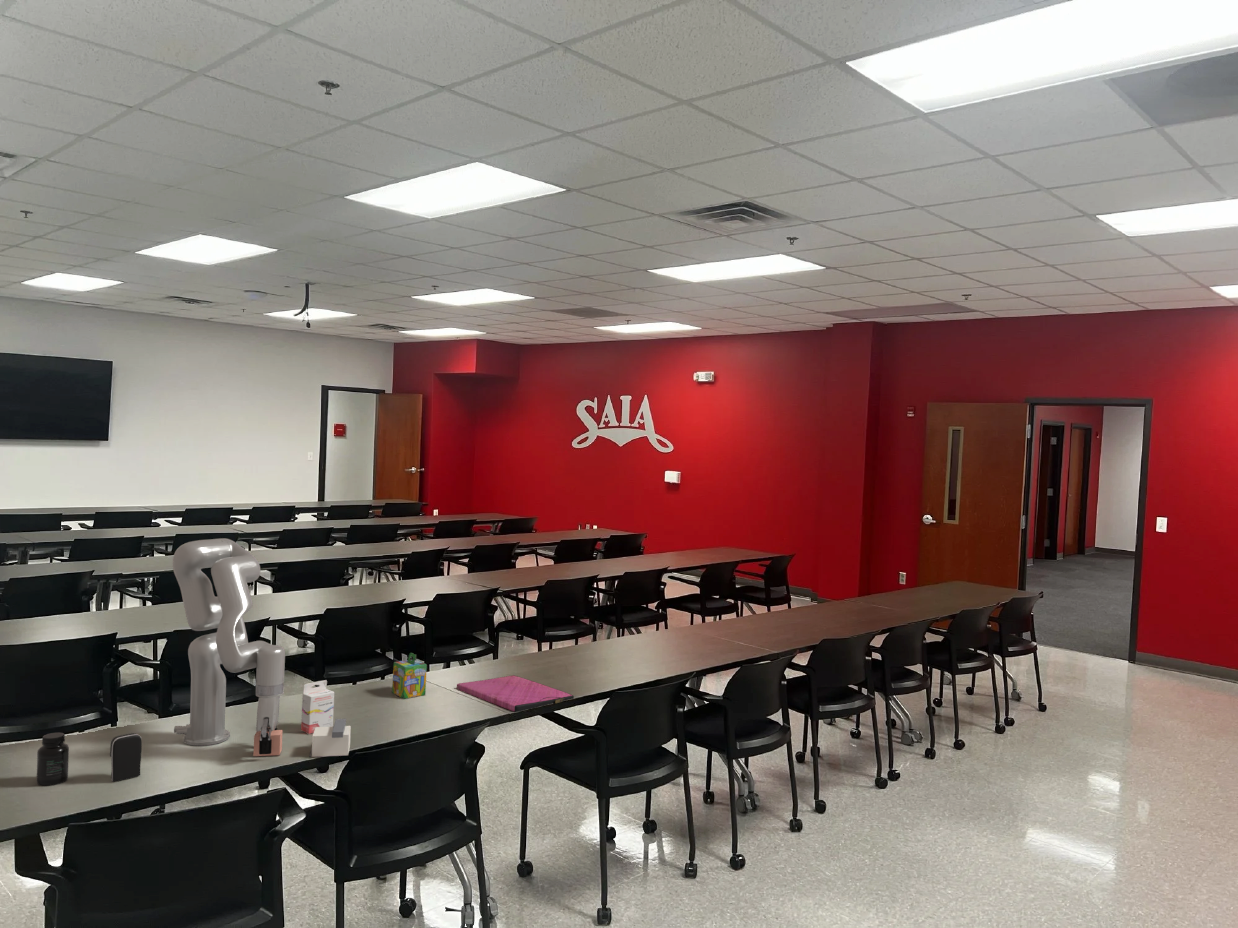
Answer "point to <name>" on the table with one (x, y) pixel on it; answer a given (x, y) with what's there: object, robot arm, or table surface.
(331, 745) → the block
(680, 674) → the table surface
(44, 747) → the supplement bottle
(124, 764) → the black rounded block
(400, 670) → the chalk box
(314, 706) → the ink cartridge box
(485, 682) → the laptop bag
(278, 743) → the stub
